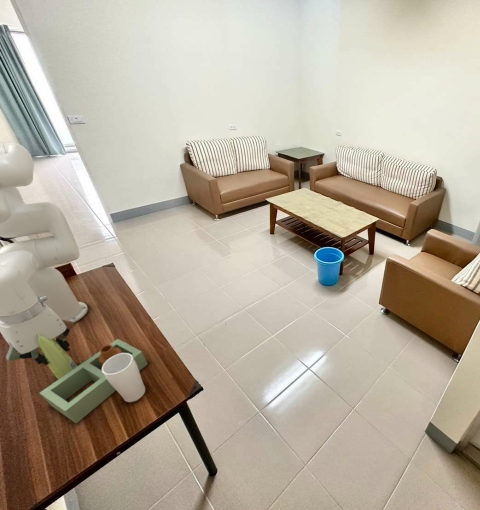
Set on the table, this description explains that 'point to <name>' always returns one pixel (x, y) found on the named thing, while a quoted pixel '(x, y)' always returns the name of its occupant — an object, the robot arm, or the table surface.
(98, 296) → the table surface
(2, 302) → the robot arm
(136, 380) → the white cup
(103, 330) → the table surface
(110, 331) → the table surface
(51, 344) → the tube
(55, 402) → the caddy
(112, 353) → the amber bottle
